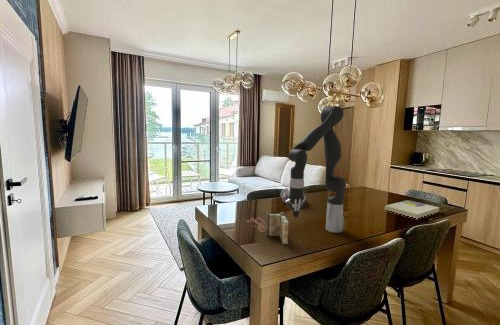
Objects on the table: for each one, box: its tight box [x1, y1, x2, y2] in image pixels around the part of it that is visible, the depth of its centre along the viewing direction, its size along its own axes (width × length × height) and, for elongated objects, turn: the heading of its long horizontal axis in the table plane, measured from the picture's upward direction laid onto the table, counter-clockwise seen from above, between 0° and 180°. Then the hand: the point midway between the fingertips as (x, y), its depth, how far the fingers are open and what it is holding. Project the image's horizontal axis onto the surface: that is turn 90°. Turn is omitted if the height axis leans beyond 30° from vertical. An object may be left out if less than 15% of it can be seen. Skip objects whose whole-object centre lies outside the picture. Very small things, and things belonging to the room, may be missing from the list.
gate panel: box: [279, 215, 289, 244], centre depth 134 cm, size 10×2×12 cm, turn 3°
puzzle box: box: [384, 200, 440, 220], centre depth 194 cm, size 36×5×24 cm
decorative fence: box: [245, 216, 266, 233], centre depth 157 cm, size 23×2×15 cm
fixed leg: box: [265, 211, 285, 236], centre depth 140 cm, size 10×2×13 cm, turn 93°
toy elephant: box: [279, 186, 308, 205], centre depth 209 cm, size 20×18×15 cm
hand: (295, 216), depth 135 cm, fingers closed
